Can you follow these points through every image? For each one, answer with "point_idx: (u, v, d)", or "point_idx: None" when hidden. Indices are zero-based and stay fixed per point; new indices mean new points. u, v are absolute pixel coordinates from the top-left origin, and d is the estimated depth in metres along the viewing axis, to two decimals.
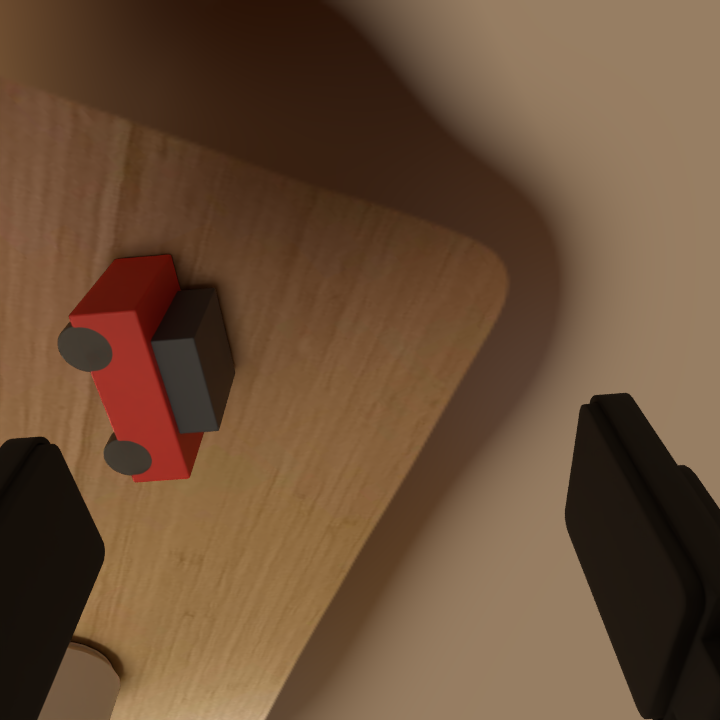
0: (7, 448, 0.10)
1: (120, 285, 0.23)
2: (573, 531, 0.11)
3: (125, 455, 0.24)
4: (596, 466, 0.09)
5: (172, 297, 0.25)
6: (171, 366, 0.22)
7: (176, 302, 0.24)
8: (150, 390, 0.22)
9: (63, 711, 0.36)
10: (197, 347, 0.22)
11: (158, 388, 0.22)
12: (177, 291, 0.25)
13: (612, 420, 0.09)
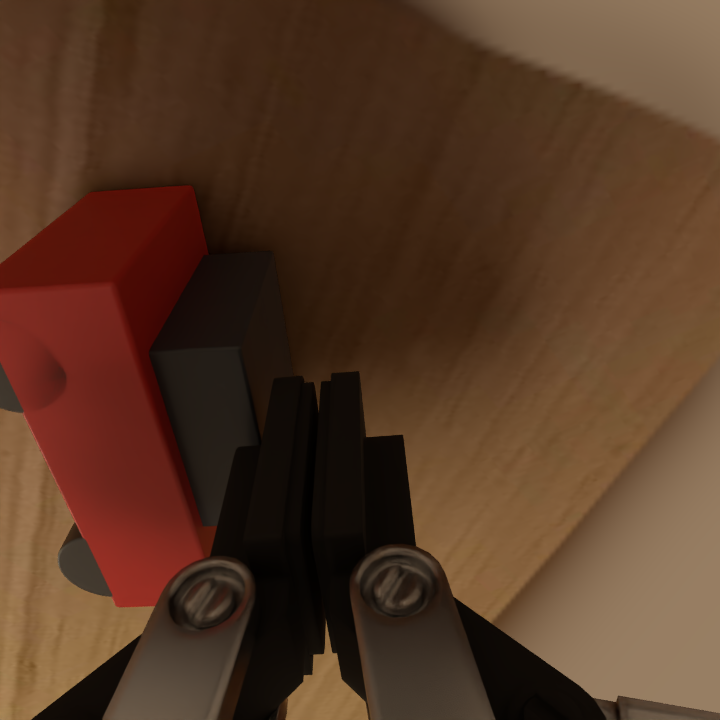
0: (279, 384, 0.11)
1: (89, 234, 0.11)
2: None
3: (99, 564, 0.13)
4: None
5: (195, 265, 0.13)
6: (191, 403, 0.11)
7: (201, 274, 0.13)
8: (147, 451, 0.11)
9: None
10: (246, 366, 0.10)
11: (163, 447, 0.11)
12: (203, 256, 0.14)
13: (330, 394, 0.10)
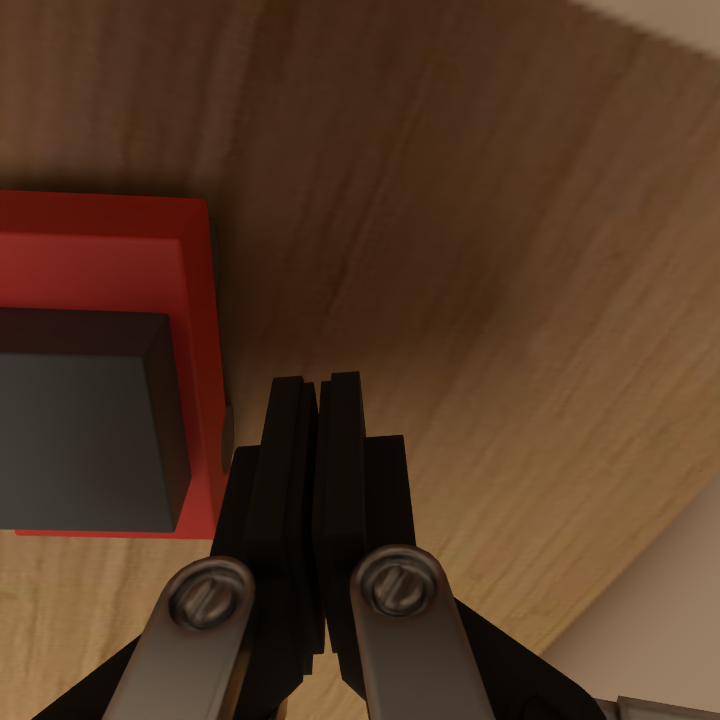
0: (279, 384, 0.11)
1: (51, 209, 0.12)
2: None
3: None
4: None
5: (124, 307, 0.11)
6: None
7: (104, 315, 0.11)
8: None
9: None
10: None
11: None
12: (161, 312, 0.11)
13: (330, 394, 0.10)
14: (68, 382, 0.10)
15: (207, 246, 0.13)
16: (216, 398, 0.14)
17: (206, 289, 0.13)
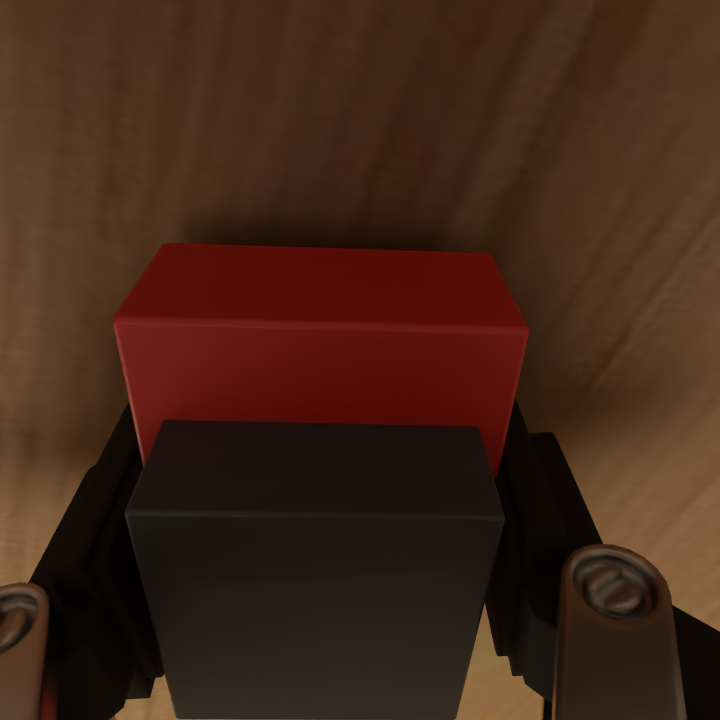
0: None
1: (306, 277, 0.08)
2: None
3: None
4: None
5: (420, 419, 0.08)
6: None
7: (396, 434, 0.08)
8: None
9: None
10: (139, 542, 0.07)
11: None
12: (470, 426, 0.08)
13: None
14: (378, 550, 0.07)
15: None
16: None
17: None
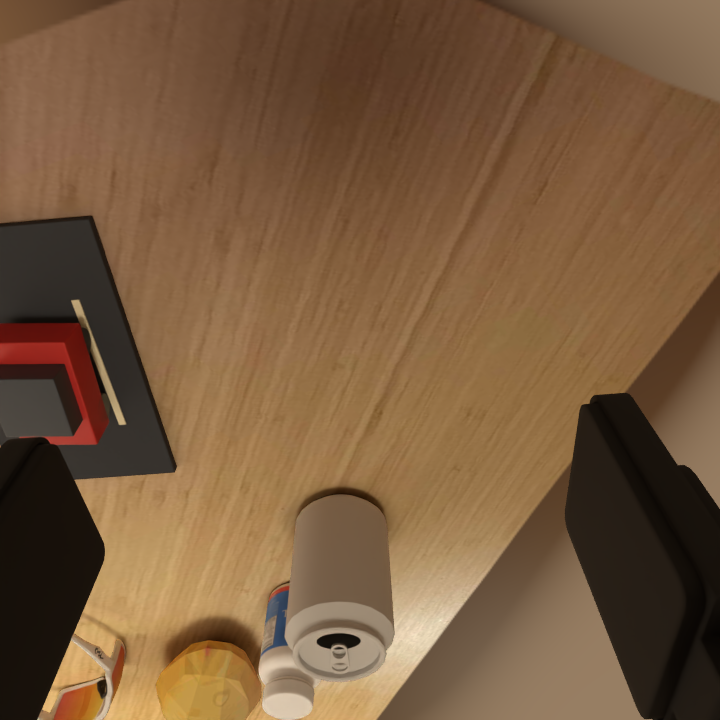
0: (7, 448, 0.10)
1: (26, 331, 0.36)
2: (573, 531, 0.11)
3: None
4: (596, 466, 0.09)
5: (50, 362, 0.36)
6: None
7: (44, 365, 0.36)
8: None
9: (370, 538, 0.44)
10: None
11: None
12: (62, 364, 0.36)
13: (612, 420, 0.09)
14: (32, 387, 0.35)
15: (81, 338, 0.37)
16: (92, 390, 0.39)
17: (81, 353, 0.37)
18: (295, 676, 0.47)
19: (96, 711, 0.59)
